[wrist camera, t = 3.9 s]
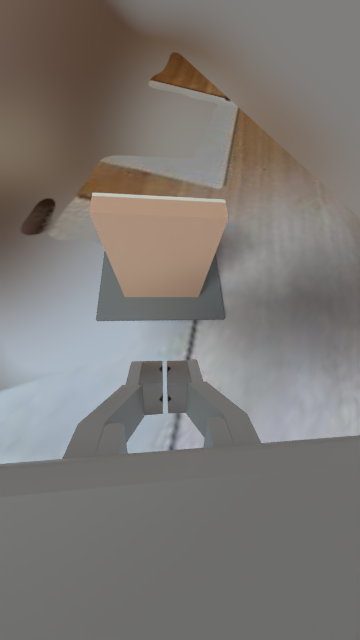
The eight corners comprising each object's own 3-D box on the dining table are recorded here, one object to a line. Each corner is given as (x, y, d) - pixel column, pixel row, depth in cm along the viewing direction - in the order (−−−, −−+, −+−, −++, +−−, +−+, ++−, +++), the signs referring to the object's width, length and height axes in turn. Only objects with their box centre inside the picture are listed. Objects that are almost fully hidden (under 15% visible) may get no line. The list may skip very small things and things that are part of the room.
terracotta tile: (198, 297, 30) (228, 218, 16) (124, 297, 29) (88, 212, 15) (197, 284, 31) (225, 199, 17) (125, 284, 30) (92, 192, 16)
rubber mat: (223, 319, 30) (224, 318, 29) (97, 321, 28) (96, 319, 27) (208, 213, 38) (209, 211, 38) (110, 208, 36) (110, 206, 36)
